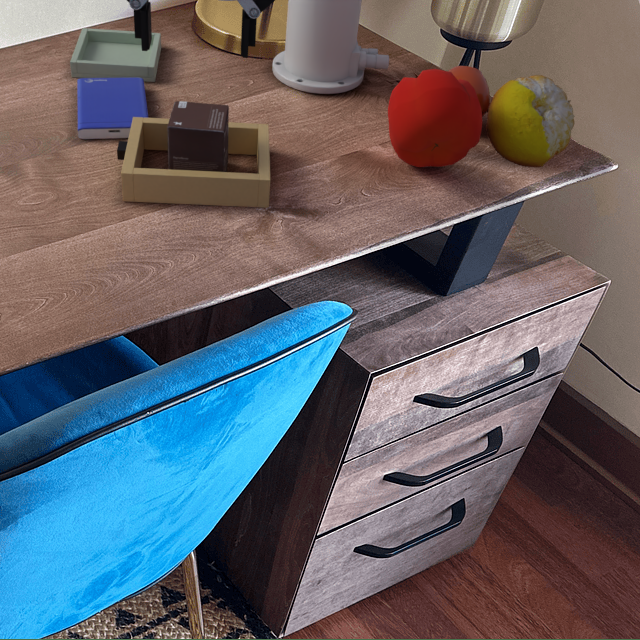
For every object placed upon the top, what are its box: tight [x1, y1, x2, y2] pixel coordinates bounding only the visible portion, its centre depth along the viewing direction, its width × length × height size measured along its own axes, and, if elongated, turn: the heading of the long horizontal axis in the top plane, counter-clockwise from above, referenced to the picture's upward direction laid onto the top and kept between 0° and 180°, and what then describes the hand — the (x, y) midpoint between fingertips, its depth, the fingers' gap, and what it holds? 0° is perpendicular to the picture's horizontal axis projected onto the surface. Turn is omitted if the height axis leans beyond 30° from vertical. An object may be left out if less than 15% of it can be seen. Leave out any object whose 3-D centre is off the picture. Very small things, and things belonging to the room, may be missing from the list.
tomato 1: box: [387, 68, 483, 168], centre depth 95 cm, size 11×12×9 cm
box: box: [167, 100, 230, 172], centre depth 90 cm, size 6×6×7 cm
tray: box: [69, 27, 162, 83], centre depth 111 cm, size 11×11×2 cm
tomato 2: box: [447, 65, 491, 118], centre depth 106 cm, size 7×7×8 cm
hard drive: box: [76, 78, 149, 140], centre depth 101 cm, size 2×8×12 cm
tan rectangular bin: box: [116, 117, 271, 209], centre depth 92 cm, size 16×12×4 cm
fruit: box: [485, 74, 576, 168], centre depth 99 cm, size 11×10×8 cm
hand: (195, 48), depth 83 cm, fingers open, 9 cm apart
